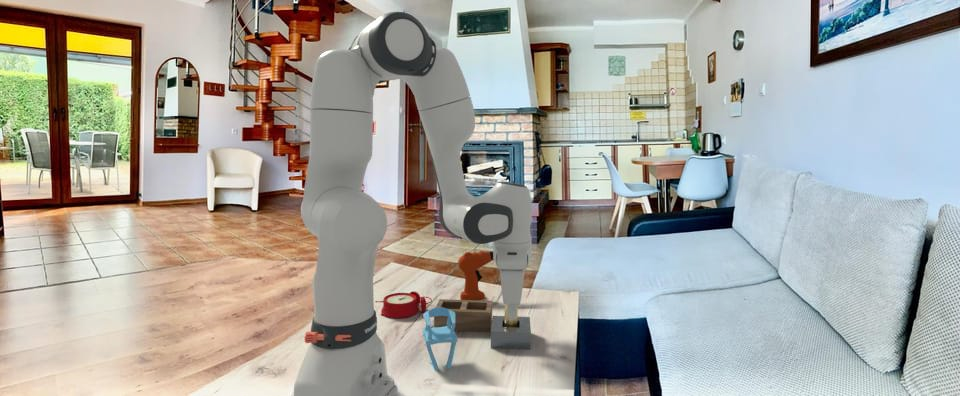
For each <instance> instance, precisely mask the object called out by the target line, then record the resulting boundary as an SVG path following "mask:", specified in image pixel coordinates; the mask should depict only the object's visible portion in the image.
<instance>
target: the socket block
mask: <svg viewBox="0 0 960 396" xmlns="http://www.w3.org/2000/svg"><path fill="white" fill-rule="evenodd" d="M530 317H531V316H517V328H516V327H505V315H492V325H491V332H490V349H498V350H499V349H501V350H503V349H504V350H526V351H529V350H530V351H531V348H532V339H531V338H532V330H531V329H532V328H531V318H530Z"/></svg>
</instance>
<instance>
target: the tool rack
mask: <svg viewBox="0 0 960 396" xmlns="http://www.w3.org/2000/svg"><path fill="white" fill-rule="evenodd" d="M436 307H443V308H446V309H449V310H451V311H453V312H455V328H454V332H473V333H474V332H475V333H491V326H492V318H493V300H483V299H482V300H461V299H447V298H446V299H445V298H444V299H443V298H441V299H438V301H437V304H436V306H435V308H436ZM447 320H448V316H434V317H433V324H434V325H433V328H437V327H444V326H447ZM450 323H451V326H452V321H451V322H450Z"/></svg>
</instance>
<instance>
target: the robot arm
mask: <svg viewBox="0 0 960 396" xmlns="http://www.w3.org/2000/svg"><path fill="white" fill-rule="evenodd" d="M396 80H402V81H403V82H404V83H405V84H406V85H407V86H408V87H409V89H410V90H411V92H412V94H413V95H414V99H415V104H416V107H417V108H416V109H417V110H418V114H419V118H420V121H421V124H422V127H423V130H424V134H425V136H426V139H427V145H428V147H429V152H430V157H431V162H432V165H433V166H432V167H433V171H434V175H435V178H436V183H437V187H438V191H439V192H438V193H439V209H438V219H439V222H440V226H441V227H442V228H443V230H444V231H445V232H446V233H448V234H449V235H452V236H456V237H460V238H461V239H464V240H466V241H468V242H470V243H472V244H476V245H477V244H478V245H485V244H489V243H492V251H493V259H494V260H493V261H495V263H496V268H497V270H499V278H500V285H501V286H500V287H501V289H500V290H501V296H502V301H503V304H504V306H505V305H507V307H508V318H509V319H515V318H516V308H517V305H518V306H519V305H520V304H521V301H522V297H523V296H522V295H523V289H524V279H525V272H526V270H527V269H528V266H529V263H530V262H531V261H532V256H533V255H532V249H533V248H532V241H533V239H532V233H531V226H532V221H533V219H532V217H533V207H532V206H533V205H532V198H531V193H530V189H529V188H528V187H527V186H526V185H525V184H521V183H516V182H510V181H497V182H496V183H495V185H494V186H493V187H492V188H490V189H488V191H486V192H485V193H483V194H482V195H479V196H476V197H474V196H473V194H471V193H470V191H469V190H468V188H467V186H466V185H467V184H466V180H465V176H464V171H463V167H462V163H461V152H462V149H463V147H464V145H465V144H466V143H467V142H468V141H469V140H470V138H471V137H472V135H473V133H474V131H475V128H476V118H475V117H476V115H475V109H474V104H473V101H472V97H471V94H470V90H469V88H468V84H467V81H466V79H465V76H464V74H463V71H462V69H461V66H460V64H459V62H458V59H457V58H456V56H455V54H454V53H453V51H451V50H450V49H448V48H445V47H440V46H437V45H436V42H435V41H434V40H433V39H432V37H431V36H430V35H429V33H428V32H427V30H426V28H425V27H424V25H423V24H422V23H421V21H419V19H418V18H416V17H415V16H413V15H412V14H410V13H407V12H404V11H391V12H386V13H383V14H382V15H380V16H378V18H376V19H375V20H372V21H371V22H370V23H368V24H367V25H366V26H365V27H364V28H363V29H362V30H361V31H360V33H359V34H358V35H357V36H356V37H355V38H354V39H353V41H352V43H351V45H350V47H348V49H344V48H336V49H335V48H334V49H331V50H327V51H325V52H323V53H322V54H321V55H320V56H319V57H318V58H317V59H316V62H315V66H314V71H313V77H312V82H311V90H310V92H311V93H310V107H309V111H310V112H309V113H310V115H309V116H310V117H309V118H310V119H309V122H310V123H309V155H308V165H307V169H306V176H305V182H304V190H303V198H302V199H303V200H302V202H301V205H300V214H301V215H300V216H301V219H302V222H303V225H304V226H305V228H306V230H307V231H308V232H309V233H310V234H311V235H314V236H315V237H316V238H317V242H318V254H317V261H316V268H315V272H314V274H313V277H312V292H313V293H312V294H313V295H312V296H313V312H314V313H313V317H312V322H311V326H310V330H308V331H306V333H304V342H305V344H309V345H308V348H307V351H306V352H305V356H304V358H303V360H302V363H301V365H300V368H299V370H298V374H297V375H296V379H295V382H294V385H293V392H292V394H291V395H290V396H387V394H388V393H389V392H390V391H391V390H392V389H393V388H394V387H395V385H396V383H395V378H394V377H392V376H391V375H389V374H388V370H387V359H386V347H385V342H383V340H382V339H381V338H380V337H379V335H378V334H377V331H378V327H377V326H378V325H377V324H378V317H377V311H376V310H375V306H374V305H375V303H374V299H375V298H374V270H375V265H376V260H377V254H378V249H379V245H380V244H381V242H382V241H383V239H384V238H385V235H386V234H387V233H386V232H387V229H388V218H387V214H386V213H385V210H384V208H382V206H381V205H380V204H379V203H378V201H376V200H375V198H373V197H372V196H371V195H369V194H368V193H366V192H363V191H362V190H363V185H364V184H363V183H364V179H365V174H366V171H367V167H368V165H369V163H370V161H371V159H372V156H373V142H374V141H373V139H374V138H373V134H374V133H373V132H374V131H373V129H374V128H373V127H374V95H375V90H376V87H377V85H378V84H383V83H387V82H389V81H396Z"/></svg>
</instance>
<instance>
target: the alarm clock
mask: <svg viewBox="0 0 960 396" xmlns="http://www.w3.org/2000/svg"><path fill="white" fill-rule="evenodd" d="M426 299H429V300H430V301H428V302H427V300H426ZM432 302H433V299H432V298H431V297H429V296H421V295H420V294H419V292H417V291H410V292H396V293H390V294H387V295H386V296H384V297H383V299H382V301H381V300H380V301H379V300H378V301H377V300H376V301H375V303H383V304H382V305H383V306H382V308H381V312H380V313H381V314H380V316H381V317H382V316H383V317H385V318H391V319H404V318H409V317H413V316H416V315H417V314H418V313H419V312H420V311H421V313H425V312H426V309H427V306H428V305H429V304H431V303H432ZM419 305H420V308H419Z"/></svg>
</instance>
